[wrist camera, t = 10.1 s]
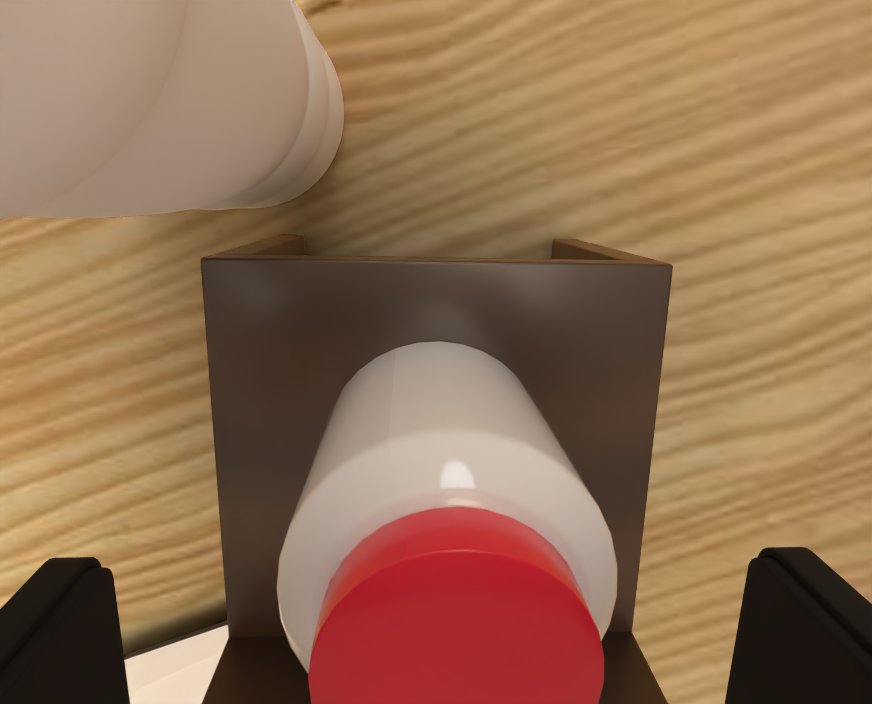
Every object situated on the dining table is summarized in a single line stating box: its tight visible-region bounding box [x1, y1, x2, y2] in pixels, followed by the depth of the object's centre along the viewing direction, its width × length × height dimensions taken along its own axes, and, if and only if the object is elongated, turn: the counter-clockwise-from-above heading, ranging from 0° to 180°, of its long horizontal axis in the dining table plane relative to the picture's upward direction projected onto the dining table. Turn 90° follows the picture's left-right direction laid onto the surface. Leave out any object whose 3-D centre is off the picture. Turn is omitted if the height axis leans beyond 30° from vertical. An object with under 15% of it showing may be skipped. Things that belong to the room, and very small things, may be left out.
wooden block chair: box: [201, 235, 673, 704], centre depth 19 cm, size 12×12×14 cm
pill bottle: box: [276, 341, 617, 704], centre depth 13 cm, size 6×6×8 cm
